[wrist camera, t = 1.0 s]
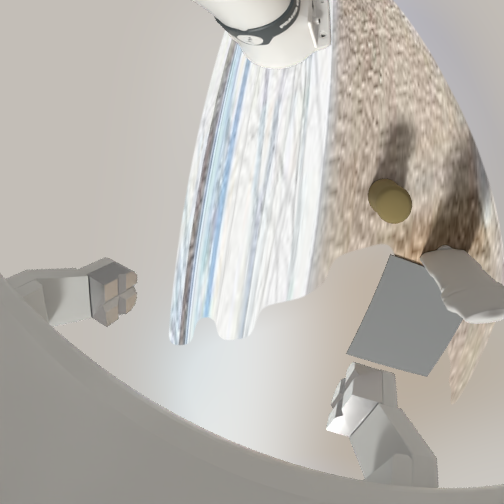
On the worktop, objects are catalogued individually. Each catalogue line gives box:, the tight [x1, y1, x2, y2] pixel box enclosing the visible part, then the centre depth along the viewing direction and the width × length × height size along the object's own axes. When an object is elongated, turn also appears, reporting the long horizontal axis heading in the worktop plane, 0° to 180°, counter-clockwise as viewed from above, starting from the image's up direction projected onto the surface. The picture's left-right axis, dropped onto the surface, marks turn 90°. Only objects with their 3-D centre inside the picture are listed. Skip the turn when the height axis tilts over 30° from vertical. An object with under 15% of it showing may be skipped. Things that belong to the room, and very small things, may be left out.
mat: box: [346, 255, 463, 376], centre depth 46 cm, size 22×20×1 cm
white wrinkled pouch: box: [420, 245, 504, 324], centre depth 31 cm, size 11×4×22 cm, turn 100°
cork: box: [368, 179, 412, 224], centre depth 37 cm, size 6×6×11 cm
